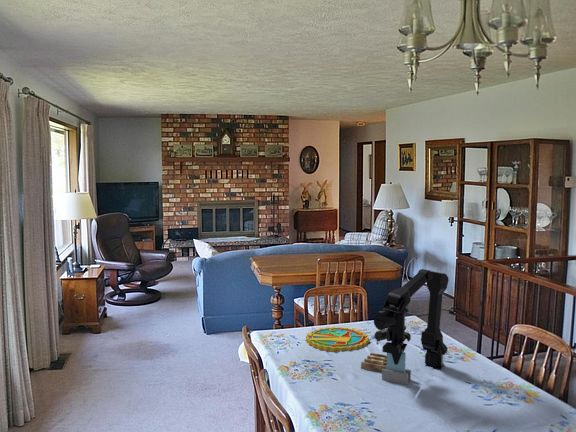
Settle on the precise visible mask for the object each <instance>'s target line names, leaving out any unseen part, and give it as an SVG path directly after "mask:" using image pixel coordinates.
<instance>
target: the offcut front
mask: <svg viewBox="0 0 576 432" xmlns="http://www.w3.org/2000/svg"><path fill="white" fill-rule="evenodd" d="M369 356H370V355H369ZM371 359H375V360H381V361H384V362H385V358H384V357H378V356H373V355H371V356H370V360H371Z"/></svg>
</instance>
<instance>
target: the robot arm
mask: <svg viewBox="0 0 576 432" xmlns="http://www.w3.org/2000/svg"><path fill="white" fill-rule="evenodd" d="M449 279H450V278H449V276H448V275H447V274H446V272H445V273H444V272H443V273H442V272H438V271H433V270H430V269H425V268H422V269H419V270H418V272H417V273H416V274H414V276H412V278H410V279H409V280H408V281H407V282H406V283H405V284H404V285H402V286H401V287H398V288H395V289H393V290H391V291H390V292H389V293H388V294H387V297H386V299H385V301H384V303H383V305H382V308H381V310H379V311H377V315H375V316H374V318H373V325H374V327H375V328H376V329H377V331H375V332H374V339H375V340H376V342H380V341H385V340H386V342H385V343H384V344H383V345H382V349H381V350H382V353H385V354H387V353H391V354H392V357H393V360H394V364H396V365H397V364H398V362H399V360H400V357H401V354H402V352H405V350H406V348H407V346H408V344H407V343H405V341H407V342H410V341H411V338H412V337H411V336H412V335H411V333H409V332H406V330H407V326H406V323H405V322H406V313H408V312H409V309H408V308H407V307H408V305H409V304H410V303H411V301H412V300H411V298H412V297H413V295H415V294H416V293H417V292H418V291H419V290H420V289H421V288H422V287H423V286H424V285H425V284H426V287H427V290H428V292H429V300H428V301H429V302H428V312H427V314H428V315H427V325H426V328H425V329H424V330H422V331H421V337H420V343H421V346H422V350H424V351H426V353H425V354H424V364H425V367H427V368H428V367H430V368H432V369H435V370H441V369H443V366H444V365H445V363H444V355H446V353H447V352H448V348H449V347H448V346H447V345H446V344H445V343H444V336H443V333H442V331H441V329H440V327H441V326H440V325H441V315H442V314H441V313H442V303H443V294H444V293H445V292H446V290H447V288H448V285H449Z"/></svg>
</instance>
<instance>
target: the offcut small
mask: <svg viewBox="0 0 576 432" xmlns="http://www.w3.org/2000/svg"><path fill="white" fill-rule="evenodd" d="M371 363H372V364H377V365H384V361H381V360H375V359H371Z"/></svg>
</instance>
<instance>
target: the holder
mask: <svg viewBox="0 0 576 432" xmlns="http://www.w3.org/2000/svg"><path fill="white" fill-rule="evenodd" d="M411 379H412V369H409V368H405V373H403V372H398V371H392V370H387V365H386V366H385V369H382V372H381V380H382V381H386V382H393V383H397V384H402V385H409V383H410V381H412V380H411Z"/></svg>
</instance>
